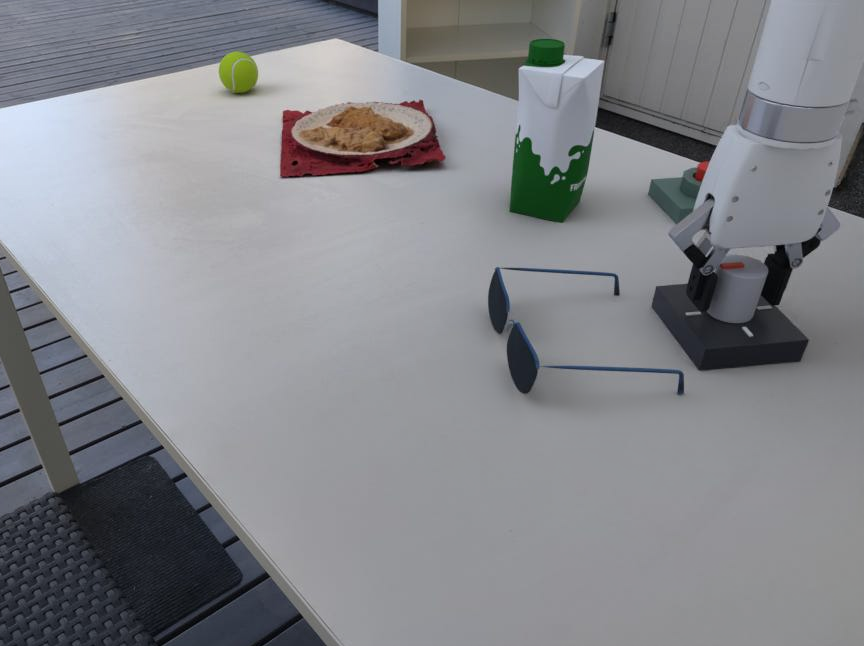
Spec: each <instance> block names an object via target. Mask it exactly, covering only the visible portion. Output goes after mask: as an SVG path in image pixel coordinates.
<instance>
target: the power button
mask: <svg viewBox="0 0 864 646" xmlns="http://www.w3.org/2000/svg"><path fill="white" fill-rule="evenodd" d="M709 163H710V160H709V161H701V162H699V163H698V164H697V165H696V167H697V170H696V174H695V179H696V180H697V181H700V182H702V181H703V178H704V176H705V173H706V170H707V168H708V165H709Z"/></svg>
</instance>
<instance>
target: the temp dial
mask: <svg viewBox="0 0 864 646" xmlns="http://www.w3.org/2000/svg"><path fill="white" fill-rule="evenodd" d="M714 272H715V273H716V275H717V276H718V280H717V283H716V287H715V290H714V293H713V297H712V300H711V304H710V307H709V309H708V310H707V313H708V314H709V315H711V316H712V317H714V318H716V319H718V320H720V321H724V322H728V323H745V322H748V321H750V320H751V319H752V318H753V315H754V312H755V309H756V307H757V304H758V301H759V298H760V295H761V292H762V289H763V286H764V283H765V280H766V277H767V274H768V268H767V266H766V265H765V264H764V262H763V261H761V260H759V259H757V258H754V257H751V256H747V255H742V254H726V256H725V257H724V258H723V260H722V261H721V262H720V264H719V265H718V266H717V268H716V269H715V270H714Z"/></svg>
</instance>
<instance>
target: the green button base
mask: <svg viewBox="0 0 864 646" xmlns="http://www.w3.org/2000/svg"><path fill="white" fill-rule="evenodd" d="M696 170H697V166H696V167H690V168H688V169H685V170H684V171H683V173H682V176H680V177H665V178H663V177H662V178H652V179H650V183H649V188H648V193H647V195H648V196H649V197H650V198H651V199H652V200H653V201H654V202H655V203H656V204H657V206H658V207H659V208H660V209H661V210H662V211H663V212H664V213H665V214H666V215H667V217H669V218H670V219H671V221H672V222H674V223H675V225H677V224H678V223H679V222H680V221H682V220H683V219H684V218H685V217H687V216H688V215H689V214H690V213H692V212H693V209H694V206H695V202H696V199H697V196H698V193H699V190H700V187H701V184H702V182H700V181H697V180H696V179H695V174H696Z"/></svg>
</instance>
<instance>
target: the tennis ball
mask: <svg viewBox="0 0 864 646" xmlns="http://www.w3.org/2000/svg"><path fill="white" fill-rule="evenodd" d="M218 76H219V79H220V82H221V83H222V85H223V86H224V87H225V88H226V89H227V90H228V91H230V92H232V93H234V94H235V93H236V94H244V93H247V92H249V91H251V90H252V89H253V88H254V87H255V86H256V84H257V83H258V79H259V70H258V65H257V62H255V60H254V58H253V57H252V56H250V54H248V53H245V52H244V51H243V52H242V51H232V52H229V53H227V54H226V55H224V56H223V58H222V59H221V60H220V62H219V66H218Z"/></svg>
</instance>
